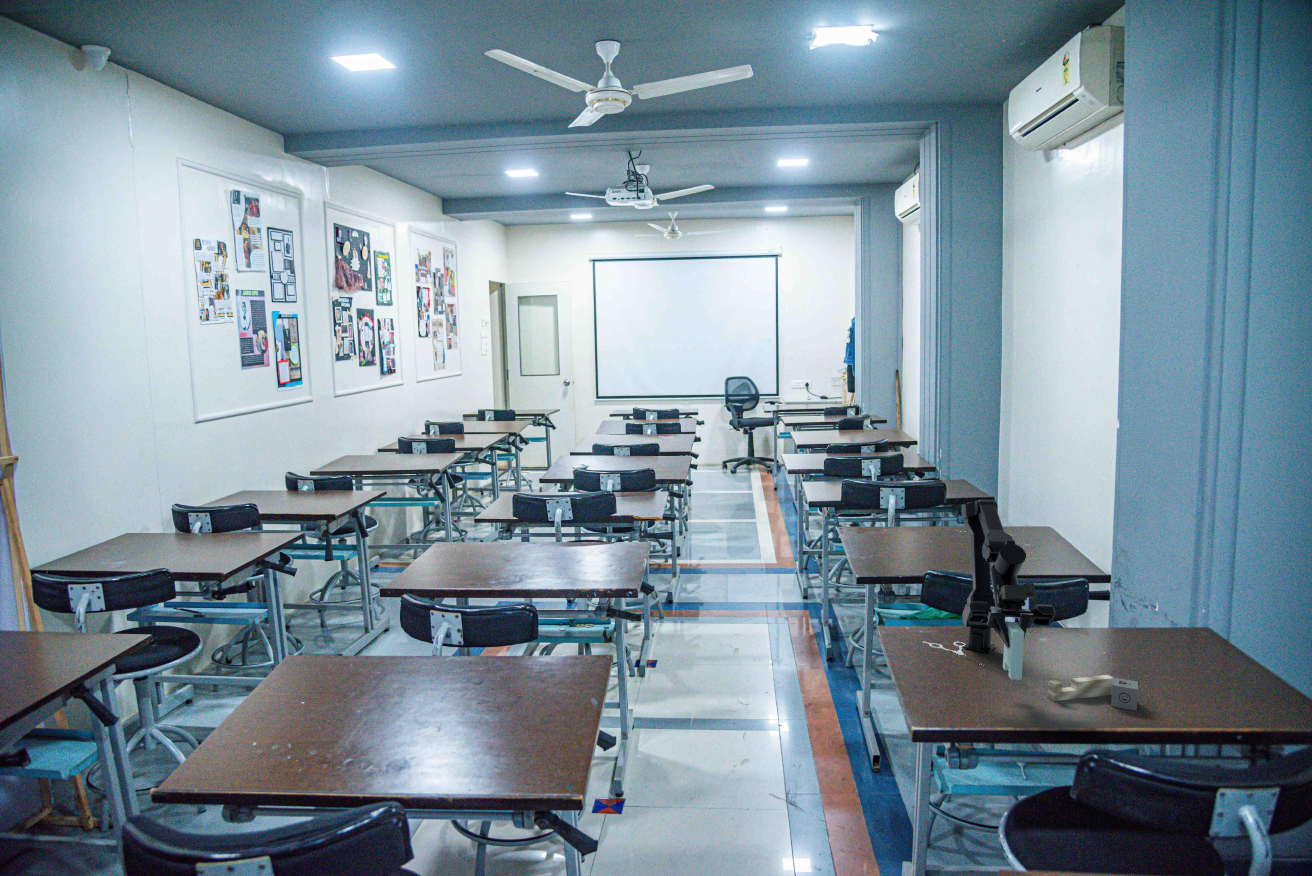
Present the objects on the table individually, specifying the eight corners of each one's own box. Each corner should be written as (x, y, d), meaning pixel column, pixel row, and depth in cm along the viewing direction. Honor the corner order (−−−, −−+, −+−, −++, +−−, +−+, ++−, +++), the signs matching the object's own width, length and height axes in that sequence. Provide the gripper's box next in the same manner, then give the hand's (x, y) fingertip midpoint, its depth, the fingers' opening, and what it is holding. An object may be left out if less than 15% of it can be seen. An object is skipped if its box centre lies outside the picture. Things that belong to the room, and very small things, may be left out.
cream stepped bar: (1053, 701, 196) (1054, 684, 196) (1047, 697, 198) (1048, 680, 198) (1113, 694, 200) (1114, 677, 200) (1106, 691, 202) (1107, 674, 201)
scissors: (958, 639, 236) (999, 665, 216) (958, 642, 236) (999, 668, 217) (922, 641, 234) (960, 668, 215) (922, 644, 234) (960, 671, 215)
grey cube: (1111, 698, 198) (1112, 677, 198) (1136, 702, 196) (1137, 681, 195) (1111, 706, 194) (1112, 685, 193) (1136, 711, 191) (1138, 689, 191)
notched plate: (1002, 667, 201) (1005, 621, 199) (1013, 668, 200) (1016, 622, 199) (1010, 679, 194) (1012, 631, 193) (1021, 679, 193) (1024, 632, 192)
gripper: (970, 567, 200) (978, 629, 190) (1055, 571, 197) (1068, 634, 187) (962, 590, 208) (969, 651, 199) (1043, 594, 206) (1055, 655, 196)
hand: (1015, 647), depth 195 cm, fingers closed on notched plate, 2 cm apart
